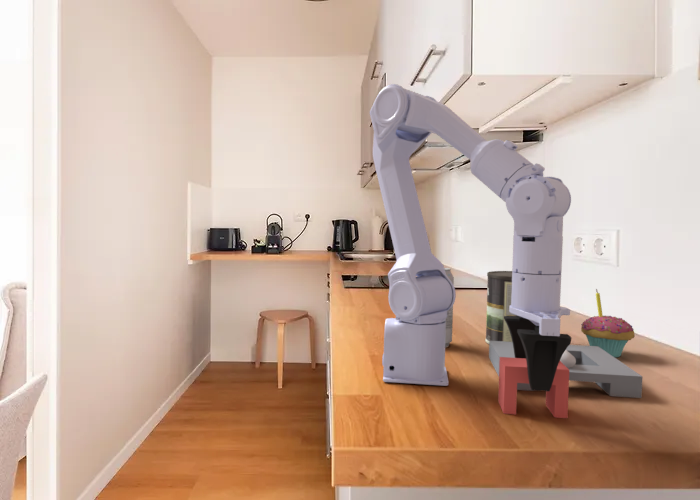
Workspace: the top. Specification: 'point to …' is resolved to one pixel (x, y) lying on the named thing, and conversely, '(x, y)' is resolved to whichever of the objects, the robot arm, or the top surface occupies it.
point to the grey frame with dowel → (584, 368)
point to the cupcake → (607, 331)
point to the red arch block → (517, 373)
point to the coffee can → (498, 305)
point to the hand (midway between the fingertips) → (532, 379)
